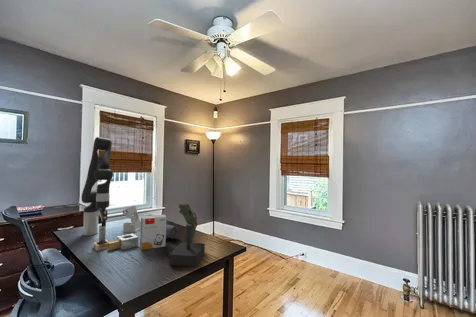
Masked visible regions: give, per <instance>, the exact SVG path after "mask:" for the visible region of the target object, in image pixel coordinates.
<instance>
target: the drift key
mask: <svg viewBox="0 0 476 317" xmlns="http://www.w3.org/2000/svg"><path fill="white" fill-rule="evenodd" d="M117 249H120V240H118V241H117V240H114V241H111V242H110V241H109V243H108V248H107V250H108V251H114V250H117Z"/></svg>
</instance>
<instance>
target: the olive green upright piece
mask: <svg viewBox="0 0 476 317" xmlns="http://www.w3.org/2000/svg"><path fill="white" fill-rule="evenodd" d="M178 207H179V211H178V212H179V213H180V214H181V215H182V216H183V217H184V219H185V221H186V223H187V224H191V225H192V228H191V243H194V241H193V238H194V237H195V234H196V230H197V227H198V221H197V220H198V219H197V218H198V217H197V215H196V212H194V211H193V210H192V208H191V207H190V204H189V203H181V204H179V205H178ZM184 243H187V229H186V228H185V229H184Z"/></svg>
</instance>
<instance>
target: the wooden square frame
mask: <svg viewBox="0 0 476 317" xmlns="http://www.w3.org/2000/svg"><path fill="white" fill-rule="evenodd" d="M109 242H110V241H109V240H108V239H105V244H101V245H99V241H96V242H93V243H92V245H93V249H94V250H95V251H96V252H97V251H102V250H106V249H107V250H108V243H109Z"/></svg>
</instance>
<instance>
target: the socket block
mask: <svg viewBox="0 0 476 317" xmlns="http://www.w3.org/2000/svg"><path fill="white" fill-rule="evenodd" d="M118 240H120V248H119V249H120V250H121V251H123V250H128V249H132V248H136V247H139V236H137V235H136V234H135V233H134V232H133V233H129V234H123V235H119V236H116V241H118Z"/></svg>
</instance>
